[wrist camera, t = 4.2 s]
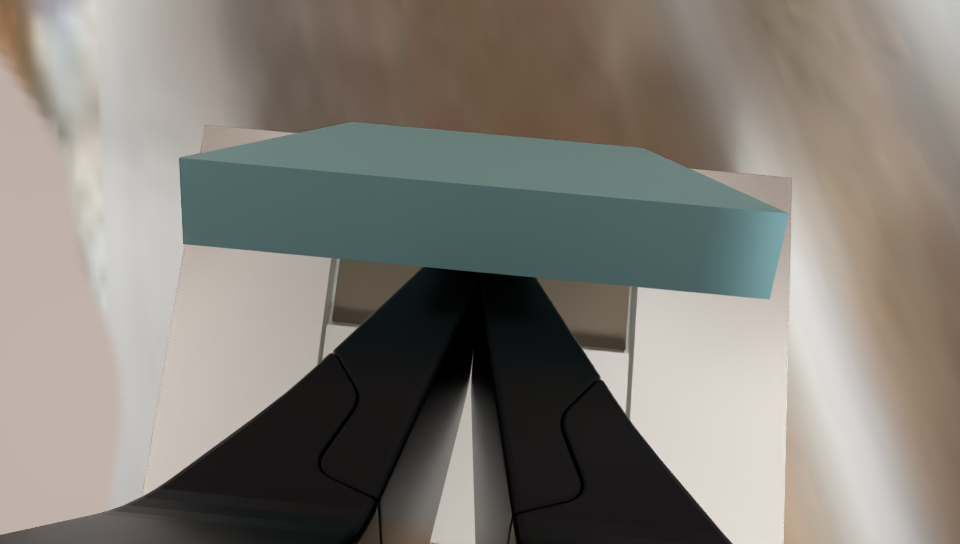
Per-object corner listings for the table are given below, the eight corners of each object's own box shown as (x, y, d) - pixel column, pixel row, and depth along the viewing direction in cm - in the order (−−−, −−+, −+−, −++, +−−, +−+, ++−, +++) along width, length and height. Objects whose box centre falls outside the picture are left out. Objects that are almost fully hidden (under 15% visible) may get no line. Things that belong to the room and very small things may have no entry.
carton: (724, 539, 17) (787, 584, 13) (201, 485, 17) (128, 515, 14) (737, 211, 18) (796, 174, 15) (251, 166, 18) (197, 120, 15)
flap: (636, 190, 15) (769, 299, 7) (350, 164, 15) (183, 243, 7) (643, 147, 15) (789, 213, 7) (351, 121, 15) (178, 157, 7)
